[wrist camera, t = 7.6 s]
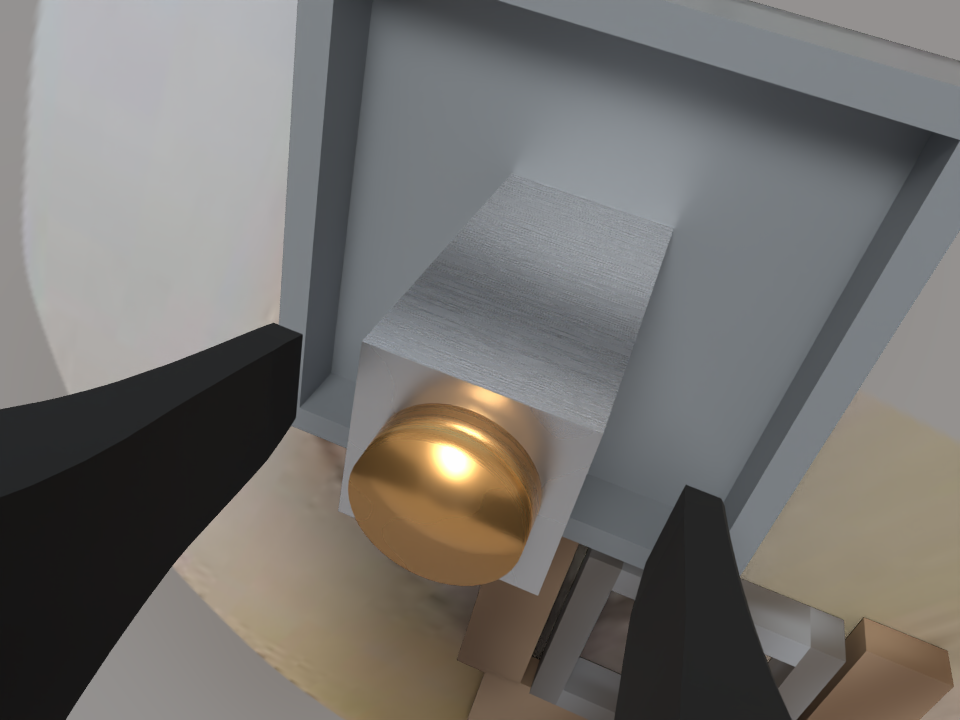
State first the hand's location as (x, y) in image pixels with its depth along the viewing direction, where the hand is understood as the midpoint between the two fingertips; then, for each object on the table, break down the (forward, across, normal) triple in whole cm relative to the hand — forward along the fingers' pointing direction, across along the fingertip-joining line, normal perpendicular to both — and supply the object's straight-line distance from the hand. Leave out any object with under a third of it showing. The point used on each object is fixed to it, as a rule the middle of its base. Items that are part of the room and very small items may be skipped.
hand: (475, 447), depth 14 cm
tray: (+8, 0, 0) cm, 8 cm away
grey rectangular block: (+7, 0, 0) cm, 7 cm away
